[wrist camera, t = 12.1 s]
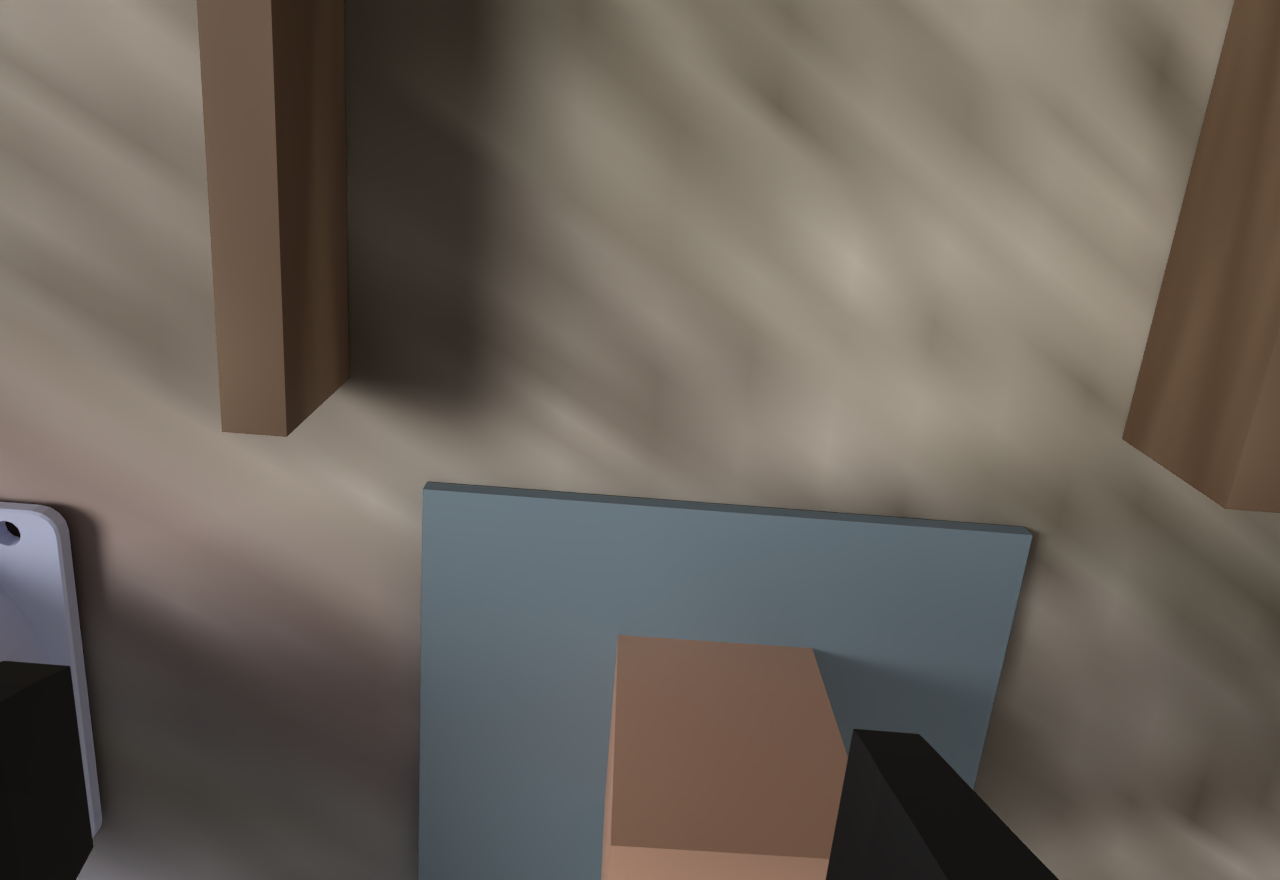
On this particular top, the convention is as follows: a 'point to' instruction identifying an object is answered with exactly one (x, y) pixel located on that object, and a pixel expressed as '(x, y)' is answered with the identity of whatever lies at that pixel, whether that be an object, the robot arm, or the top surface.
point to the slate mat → (678, 609)
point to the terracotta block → (720, 763)
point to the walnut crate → (318, 249)
